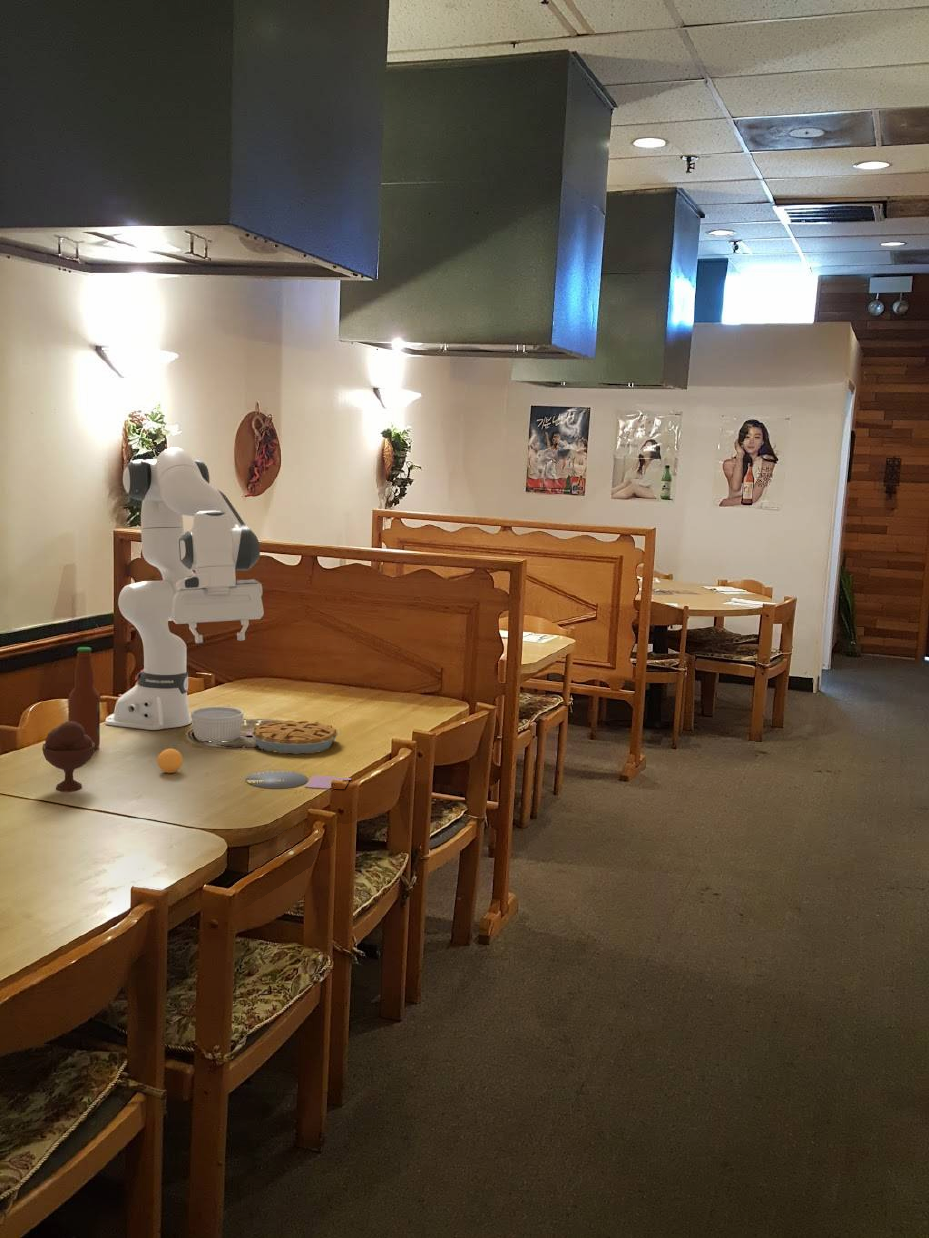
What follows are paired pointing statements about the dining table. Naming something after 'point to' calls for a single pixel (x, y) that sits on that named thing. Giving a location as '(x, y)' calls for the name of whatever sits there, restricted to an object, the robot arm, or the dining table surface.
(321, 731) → the pie
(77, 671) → the bottle
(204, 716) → the ramekin
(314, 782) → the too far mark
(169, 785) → the dining table surface
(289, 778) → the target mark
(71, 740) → the ice cream bowl
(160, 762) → the ball
